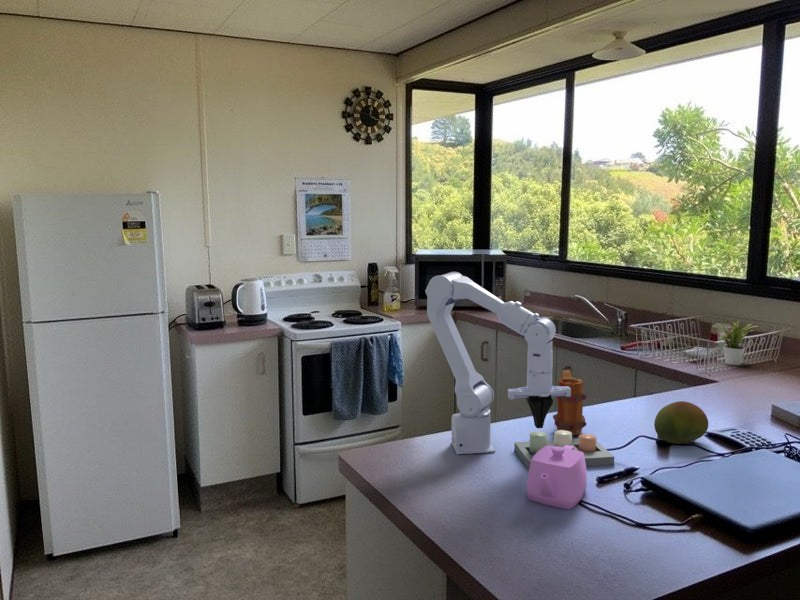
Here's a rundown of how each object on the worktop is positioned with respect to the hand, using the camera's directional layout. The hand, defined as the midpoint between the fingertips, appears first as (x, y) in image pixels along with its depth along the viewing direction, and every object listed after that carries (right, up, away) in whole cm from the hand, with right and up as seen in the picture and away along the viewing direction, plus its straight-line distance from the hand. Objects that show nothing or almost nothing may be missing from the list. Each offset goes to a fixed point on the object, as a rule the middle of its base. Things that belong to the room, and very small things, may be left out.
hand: (538, 426), depth 150 cm
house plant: (+91, +6, +84) cm, 124 cm away
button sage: (0, -6, +1) cm, 6 cm away
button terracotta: (+12, -7, +2) cm, 14 cm away
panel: (+6, -8, +2) cm, 10 cm away
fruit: (+37, -6, +10) cm, 39 cm away
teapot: (0, -11, -18) cm, 21 cm away
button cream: (+6, -6, +2) cm, 9 cm away
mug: (+12, -5, +20) cm, 24 cm away
